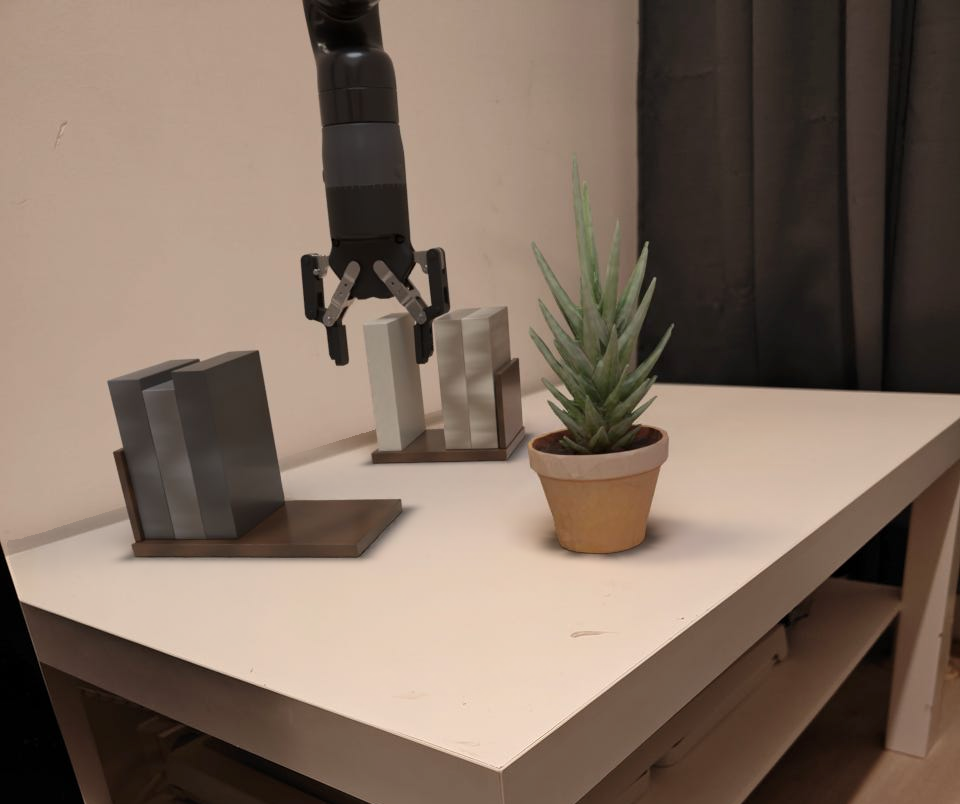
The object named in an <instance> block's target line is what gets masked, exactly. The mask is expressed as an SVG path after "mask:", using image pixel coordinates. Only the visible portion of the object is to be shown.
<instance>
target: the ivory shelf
mask: <svg viewBox="0 0 960 804" xmlns="http://www.w3.org/2000/svg"><path fill="white" fill-rule="evenodd" d="M433 329H434V341H435V348H436V360H437V361H436V362H437V371H438V381H439V393H440V402H441V404H440V405H441V412H442V423H443V428H426V430H425V431H424V432H423V433H422V434H421V435H420V436H418V437H417V438H416V439H415V440H414V441H413V442H411V443H410V444H409V445H408V446H407V447H406V448H405V449H403V450H402V451H386V452H379V450H378V448H376V449H375V450H374V451H372V452H371V462H372V464H391V463H395V464H396V463H432V462H433V463H436V462H475V461H477V462H481V461H482V462H483V461H507V460H508V459H509V457H510V456H511V455H512V454H513V452H515V449H516V448H517V447H518V445H520V443H521V441H522V440H523V439H524V437H525V436H526V427H525V426H524V421H523V403H522V402H523V401H522V387H521V371H520V358H519V357H513V358H512V354H511V353H512V352H511V340H510V323H509V309H508V306H507V305H504V306H502V305H501V306H500V305H499V306H486V307H484V306H483V307H471V308H457V309H455V310H453V311H451V312H448V313H446V314H444V315H441V316H439V317H437V318H435V319H434V321H433Z"/></svg>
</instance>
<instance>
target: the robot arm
mask: <svg viewBox="0 0 960 804" xmlns="http://www.w3.org/2000/svg"><path fill="white" fill-rule="evenodd" d="M380 1H381V0H301V3H302V9H303V14H304V18H305V23H306V28H307V32H308V37H309V43H310V46H311V50H312V55H313V59H314V62H315V67H316V84H317V85H316V87H317V97H318V106H319V117H320V126H321V127H322V128H321V163H322V172H321V173H322V175H321V176H322V181H323V183H324V191H325V199H326V210H327V220H328V227H329V236H330V242H331V248H330V252H329V254H319V253H316V252H314V253H313V252H311V253H306V254H303V255H301V257H300V272H301V273H300V274H301V285H302V295H303V297H302V298H303V309H304V316H305V319H307V320H309V321H315V322H318V323H320V324H322V325H323V326H324V327H325V332H326V339H327V340H326V341H327V348H328V349H327V350H328V355H329V358H330V360H331V361H334V364H335V366H336V367H345V366H347V365H349V363H350V355H349V345H348V336H347V326H346V324H343V320H344V318H345V317H346V315H347V313H348V311H349V309H350V307H351V306H352V305H353V304H354V302H355V301H356V299H357V301H363V300H368V299H371V298H375V299H379V300H389V299H392V298H395V299H396V300H397V301H398V303H399V304H400V305H401V306H402V307H403V308H404V309H405V310H406V312H409V313H410V315H411V316H412V317H413V319H414V320H415V325H413V328H414V341H415V355H416V363H417V364H419V365H425V364H427V363H428V362H429V359H430V358H431V357H433V355H434V352H435V347H434V345H435V344H434V332H433V329H434V328H433V324H434V320H436V319H438V318H440V317H442V316H445V315H447V314H449V313H450V311H451V299H450V290H449V280H448V270H447V269H448V268H447V260H446V258H447V257H446V252H445V250H444V249H443V247H439V246H438V247H437V246H436V247H433V248H429V249H427V250H426V249H425V250H415V248H414V247H413V244H412V240H411V239H412V238H411V226H410V225H411V224H410V213H409V212H410V211H409V198H408V185H407V169H406V157H405V149H404V143H403V139H402V133H401V126H400V113H399V101H398V99H399V98H398V87H397V77H396V71H395V66H394V62H393V60H392V58H391V56H390V55H389V54H388V53H387V52H386V51H385V49H384V43H383V42H384V41H383V34H382V25H381V17H380ZM417 264H418V265H419V266H420V269H421V271H422V273H424V274H425V275H427V276H428V278H427V279H428V286H429V295H430V305H428V304H427V302H426V301H425V300H424V299H423V297H422V295H421V292H420V290H418V288H417V287H416V286H415V284H414V283H413V281H412V280H411V279H410V278H409V277H410V275H411V274H412V272H413V271H414V269H415V267H416V265H417ZM329 268H330V270H331V271H332V272H333V273H334V274H335V276H336V278H338V280H339V281H340V282H339V283H338V285H337V287H336V289H335V291H334V293H333V294H332V296H331V299H330V303H329V305H328V307H326V303H325V302H326V301H325V290H324V289H325V287H324V278H325V277H327V274H328V269H329Z"/></svg>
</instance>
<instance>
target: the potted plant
mask: <svg viewBox="0 0 960 804" xmlns="http://www.w3.org/2000/svg"><path fill="white" fill-rule="evenodd" d="M572 153H573V154H572V155H573V157H572V163H571V164H572V166H571V167H572V168H571V170H572V171H571V172H572V173H571V176H572V177H571V179H572V180H571V181H572V195H573V199H572V201H573V202H572V203H573V213H574V225H575V231H576V244H577V253H578V260H579V270H580V275H579V306H578V305H576V304H575V303H574V302H573V301H572V299H571V298H570V297H569V295H568V294H567V293H566V291H565V290H564V288H563V287H562V286H561V284H560V282H559V280H558V279H557V277H556V275H555V274H554V272H553V270H552V269H551V266H549V263H548V262H547V260H546V259H545V257H544V255H543V254H542V252H541V251H540V249H539V248H538V246H537V245H536V243H535V242H534V240H531V248H532V252H533V254H534V257H535V260H536V263H537V266H538V267H539V268H540V271H541V273H542V276H543V277H544V279H545V283H546V284H547V285H548V288H549V290H550V292H551V295H552V296H553V299H554V301H555V303H556V305H557V307H558V309H559V312H560V313H561V315H562V316H563V319H564V320H565V322H566V324H567V326H568V327H569V329H570V331H571V333H572V335H573V337H574V339H573V338H572V337H571V336H570V335H569V334H568V333H567V332H566V331H565V330H564V329H563V328H562V326H561V325H560V324H559V323H558V322H557V320H556V318H555V317H554V316H553V315H552V313H551V312H550V311H549V309H548V308H547V306H546V305H545V304H544V302H543V301H542V299H540V298H539V297H537V301H538V307H539V309H540V311H541V314H542V316H543V318H544V321H545V322H546V324H547V326H548V328H549V330H550V332H551V333H552V335H553V337H554V339H553V345H554V347H555V349H556V350H557V352H558V354H559V355H560V357H561V358H560V359H559V361H558V360H557V358H556V357H555V356H554V354H553V353H552V351H551V350H550V348H549V347H548V345H547V344H546V343H545V342H544V340H543V339H542V337H540V336H539V334H538V333H536V331H535V330H534V329H533V328H532V327H531V326H530V325H529V326H528V334H529V336H530V338H531V340H532V341H533V343H534V344H535V346H536V347H537V349H538V351H539V352H540V354H541V355H542V356H543V358H544V359H545V360H546V362H547V364H548V365H549V367H550V368H551V369H552V371H553V372H554V373H555V374H556V376H557V377H558V378H559V379H560V381H561V382H562V383H563V384H564V387H565V388H566V390H567V391H568V393H569V394H570V395H571V397H572V398H573V399H569V398H568V397H567V396H565V394H563V393H562V392H561V391H560V390H559V389H558V388H556V387H555V386H554V385H553V384H551V382H550V381H549V380H547V378H545V377H543V376H542V377H541V378H540V381H541V382H542V383H543V385H544V386H545V388H546V389H547V390H548V391H549V393H551V395H552V397H554V398H555V399H556V400H557V401H558V402H559V403H560V404H561V406H562V407H563V408H564V409H563V408H562V409H561V408H559V406H557V405H556V404H555V403H554V402H553V401H552V400H549V399H547V400H546V402H547V404H548V406H549V408H551V410H552V412H553V413H554V415H556V417H557V418H558V419H559V420H560V421H561V423H562V424H563V425H564V426H565V427H566V428H561V429H557V430H553V431H549V432H546V433H542V434H539V435H537V436H535V437H533V438H532V439H530V440H529V441H528V443H527V452H528V461H529V467H530V469H531V470H532V471H534V472H535V473H536V475H537V477H538V478H539V481H540V484H541V487H542V490H543V493H544V495H545V498H546V501H547V505H548V507H549V510H550V513H551V517H552V520H553V524H554V528H555V532H556V536H557V540H558V542H559V544H560V546H561V547H562V548H563V549H566V550H569V551H573V552H577V553H588V554H589V553H590V554H611V553H617V552H623V551H626V550H630V549H634V548H636V547H637V546H638V545H640V544H641V543H642V542H644V541H645V536H646V530H647V523H648V519H649V515H650V511H651V508H652V503H653V500H654V495H655V491H656V488H657V483H658V478H659V475H660V471H661V468H662V466H663V465H664V464H665V462H666V461H667V460H668V458H669V451H670V447H669V446H670V437H669V434H668V431H667V430H665V429H664V428H660V427H658V426H653V425H648V424H642V423H639V424H638V423H636V424H635V423H634V422H635V421H637V419H639V418H640V417H641V416H642V414H643V413H645V412H646V410H647V409H648V408H649V407H650V406H651V404H653V402H654V401H655V400H656V399H657V398H658V395H654V396H653V397H652V398H650V399H649V400H647V401H646V402H645V403H643V404H642V405H641V406H639V407H638V405H639V403H641V402H642V400H643V399H644V398H645V396H646V395H647V394H648V392H649V391H650V389H651V388H652V386H653V385H654V384H655V382H656V380H657V378H658V375H655V374H654V375H653V376H651V378H648V376H649V374H650V372H651V371H652V369H653V367H654V366H655V364H656V363H657V361H658V360H659V358H660V357H661V354H662V353H663V351H664V348H665V347H666V345H667V343H668V341H669V340H670V337H671V336H672V330H673V329H674V327H675V324H674V323H671V324H670V326H669V327H668V329H667V330H666V332H665V333H664V335H663V336H662V338H661V339H660V342H659V343H657V346H656V347H655V348H654V350H653V351H652V352H651V354H650V355H649V356H648V357H647V358H646V359H645V360H643V361H642V362H641V363H640V364H639V365H638V366H637V367H636V368H634V369H633V370H632V371H631V372H629V368H630V366H629V363H630V360H631V357H632V354H633V351H634V349H635V346H636V344H637V341H638V337H639V335H640V332H641V329H642V327H643V323H644V321H645V318H646V315H647V313H648V309H649V306H650V304H651V300H652V297H653V295H654V291H655V288H656V283H657V277H655V276H654V277H653V278H652V280H651V282H650V284H649V286H648V288H647V289H646V292H645V293H644V295H643V298H642V300H641V302H640V304H639V306H638V308H637V309H636V306H637V302H638V300H639V297H640V296H639V295H640V291H641V289H642V284H643V281H644V278H645V273H646V269H647V268H646V267H647V261H648V255H649V249H648V247H649V244H650V242H649V241H645V243H644V245H643V248H642V251H641V253H640V256H639V258H638V260H637V263H636V265H635V267H634V269H633V271H632V273H631V275H630V276H629V277H630V278H629V279H628V281H627V284H626V285H625V287H624V289H623V291H622V293H621V295H620V297H619V299H618V291H619V290H618V289H619V280H620V263H621V219H620V216H619V217H617V218H616V221H615V222H616V224H615V228H614V231H613V235H612V236H613V237H612V241H611V246H610V253H609V256H608V261H607V266H606V271H605V275H604V282H603V286H602V279H601V270H600V262H599V254H598V250H597V246H596V238H595V237H596V236H595V231H594V229H595V228H594V222H593V215H592V207H591V201H590V195H589V190H588V185H587V181H586V180H584V181H583V183H582V189H581V184H580V175H579V166H578V162H577V154H576V151H573V152H572ZM581 190H582V192H581ZM635 309H636V312H635ZM634 312H635V314H634ZM633 315H634V316H633ZM628 372H629V373H628ZM637 407H638V408H637Z"/></svg>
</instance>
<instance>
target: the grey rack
mask: <svg viewBox="0 0 960 804" xmlns="http://www.w3.org/2000/svg"><path fill="white" fill-rule="evenodd" d="M106 382H107V383H106V384H107V387H108V391H109V395H110V398H111V404H112V408H113V412H114V415H115V421H116V424H117V428H118V431H119V432H118V433H119V437H120V440H121V441H120V442H121V444H122V445H121V446H122V447H120V448H118V449H116V450H113V451H112V455H113V459H114V463H115V467H116V471H117V474H118V480H119V483H120V488H121V491H122V495H123V499H124V503H125V507H126V511H127V515H128V518H129V519H128V520H129V523H130V527H131V531H132V536H133V540H134V542H133V543H131V548H132V552H133V556H134V557H175V558H176V557H183V558H185V557H186V558H187V557H191V558H193V557H194V558H195V557H197V558H199V557H203V558H204V557H209V558H211V557H214V558H215V557H219V558H220V557H225V558H227V557H228V558H231V557H233V558H234V557H237V558H238V557H239V558H241V557H244V558H245V557H246V558H247V557H249V558H251V557H252V558H253V557H254V558H255V557H256V558H257V557H259V558H261V557H264V558H265V557H266V558H267V557H269V558H274V557H275V558H276V557H278V558H281V557H282V558H283V557H284V558H285V557H286V558H287V557H288V558H290V557H291V558H300V557H301V558H312V557H313V558H330V557H331V558H359V557H360V556H361V555H362V554H363V552H364V551H365V550H367V548H369V546H370V545H371V544H372V543H373V542H374V541H375V540H376V539H377V538H378V537H379V536H380V535H381V534H382V532H384V531H385V530H386V528H387V527H389V525H390V524H391V523H392V522H393V521H394V520H395V519H396V518H397V517H398V516H399V514H400V513H401V512H402V511H403V502H402V498H381V499H380V498H372V499H371V498H368V499H367V498H365V499H300V500H299V499H297V500H296V499H294V500H293V499H292V500H291V499H290V500H289V499H287V500H286V498H285V493H284V488H283V482H282V476H281V470H280V464H279V459H278V453H277V447H276V440H275V436H274V429H273V423H272V419H271V417H272V416H271V412H270V406H269V400H268V394H267V389H266V384H265V383H266V382H265V378H264V371H263V365H262V361H261V355H260V350H259V349H252V350H234V351H232V350H231V351H227V352H224V353H221V354H219V355H215V356H212V357H209V358H207V359H204V360H201V359H200V358H185V359H184V358H183V359H170V360H167V361H163V362H161V363H158V364H154V365H151V366H148V367H145V368H142V369H138V370H136V371H132V372H130V373H126V374H123V375H121V376H117V377H114V378H111V379H108V380H107V381H106Z"/></svg>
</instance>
